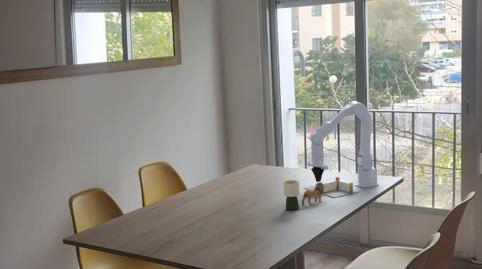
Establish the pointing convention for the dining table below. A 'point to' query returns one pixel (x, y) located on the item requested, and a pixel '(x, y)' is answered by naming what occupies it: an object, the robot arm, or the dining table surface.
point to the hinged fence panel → (329, 185)
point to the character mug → (291, 194)
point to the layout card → (333, 192)
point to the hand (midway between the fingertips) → (318, 181)
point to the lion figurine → (314, 193)
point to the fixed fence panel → (344, 185)
